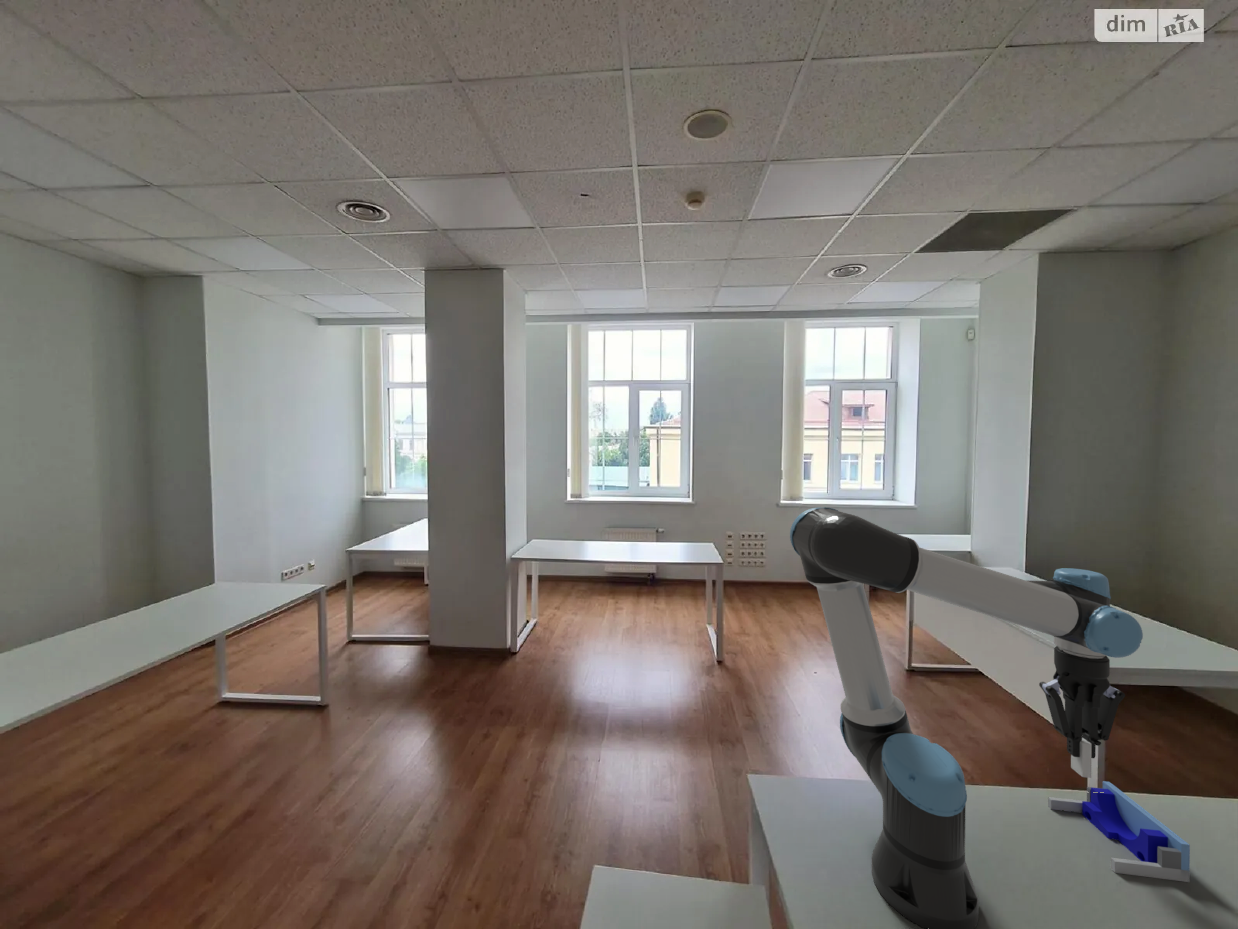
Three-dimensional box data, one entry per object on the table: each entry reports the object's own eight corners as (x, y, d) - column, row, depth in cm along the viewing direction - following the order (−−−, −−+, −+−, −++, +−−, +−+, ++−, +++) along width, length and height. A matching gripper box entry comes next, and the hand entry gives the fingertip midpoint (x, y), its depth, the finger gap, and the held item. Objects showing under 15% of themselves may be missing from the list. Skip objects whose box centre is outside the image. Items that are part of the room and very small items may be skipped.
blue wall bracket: (1114, 872, 81) (1114, 836, 81) (1048, 806, 96) (1048, 775, 96) (1189, 882, 79) (1189, 845, 79) (1109, 813, 94) (1109, 781, 94)
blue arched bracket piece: (1082, 815, 94) (1082, 786, 94) (1107, 818, 93) (1107, 789, 93) (1137, 867, 82) (1138, 834, 82) (1167, 870, 81) (1167, 837, 81)
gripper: (1057, 657, 85) (1057, 782, 86) (1139, 661, 83) (1139, 790, 83) (1028, 641, 93) (1028, 756, 93) (1103, 645, 90) (1103, 763, 91)
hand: (1081, 772), depth 88 cm, fingers closed
